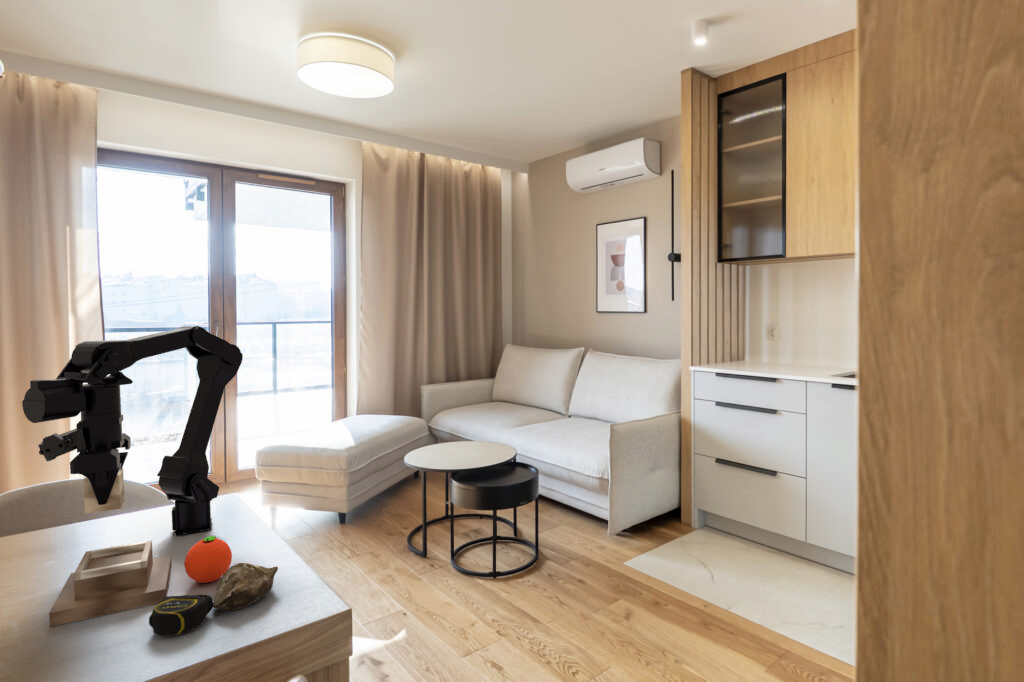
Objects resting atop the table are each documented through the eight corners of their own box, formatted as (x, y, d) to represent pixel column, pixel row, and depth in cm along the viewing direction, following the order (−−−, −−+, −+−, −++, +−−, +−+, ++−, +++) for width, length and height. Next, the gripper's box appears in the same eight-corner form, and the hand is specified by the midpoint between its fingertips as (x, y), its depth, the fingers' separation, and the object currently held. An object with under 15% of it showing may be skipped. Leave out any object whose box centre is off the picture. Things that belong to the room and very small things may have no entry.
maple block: (124, 500, 102) (123, 468, 101) (120, 508, 97) (119, 474, 97) (90, 505, 99) (89, 472, 99) (85, 513, 95) (83, 479, 95)
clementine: (194, 571, 96) (192, 530, 95) (238, 566, 97) (237, 526, 97) (179, 593, 88) (177, 549, 87) (227, 587, 90) (225, 544, 89)
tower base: (171, 565, 98) (170, 532, 97) (165, 601, 85) (164, 563, 85) (71, 585, 91) (69, 549, 91) (49, 626, 79) (47, 585, 78)
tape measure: (216, 614, 82) (215, 589, 82) (193, 641, 75) (192, 614, 75) (167, 616, 81) (166, 591, 81) (140, 644, 74) (138, 617, 74)
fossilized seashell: (229, 609, 78) (292, 591, 87) (221, 562, 81) (283, 548, 89) (202, 623, 82) (265, 605, 90) (196, 578, 84) (257, 564, 92)
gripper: (56, 409, 102) (60, 492, 103) (26, 426, 85) (31, 526, 86) (129, 403, 107) (132, 483, 108) (114, 419, 91) (118, 513, 92)
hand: (105, 499), depth 98 cm, fingers closed on maple block, 5 cm apart
